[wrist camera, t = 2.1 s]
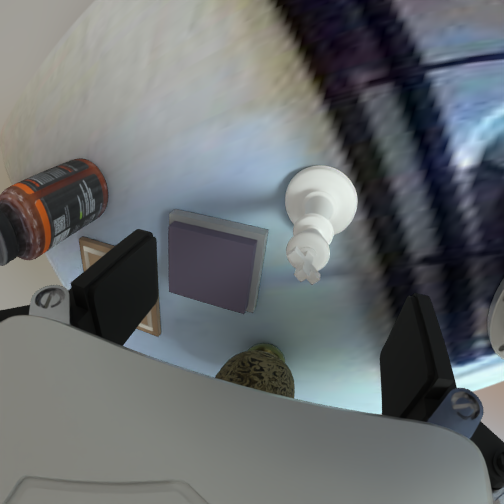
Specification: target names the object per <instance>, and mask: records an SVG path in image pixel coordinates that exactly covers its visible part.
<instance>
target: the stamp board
mask: <svg viewBox="0 0 504 504" xmlns="http://www.w3.org/2000/svg"><path fill="white" fill-rule="evenodd" d="M79 244H80V251H81V257H82V264H83V270H84V271H85V270H87V269H88V268H89V267H90V266H91V265H93V264H94V263H95V262H96V261H98V260H99V259H100V258H101V257H102V256H104V255H105V254H106V253H107V252H109V251H110V250H111V249H112V248H114V247H115V246H112V245H109V244H106V243H102V242H99V241H96V240H92V239H89V238H86V237H81V238H80V239H79ZM157 274H158V271H157ZM136 329H139V330H142V331H144V332H147V333H149V334H152V335H155V336H157V337H159V335H160V334H161V325H160V310H159V293H158V300H157V302H156V304H155V305H154V307H153V308H152V309H151V310H150V312H149V313H148V314H147V315H146V317H145V318H144V319H143V320H142V322H141V323H140V324H139V325H138V327H137V328H136Z"/></svg>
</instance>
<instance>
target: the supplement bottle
mask: <svg viewBox="0 0 504 504" xmlns="http://www.w3.org/2000/svg"><path fill="white" fill-rule="evenodd" d="M107 202H108V190H107V184H106V182H105V179H104V176H103V175H102V173H101V172H100V170H99V169H98V168H97V166H96V165H95V164H93V163H92V162H90V161H88V160H85V159H75V160H72V161H69V162H66V163H64V164H61V165H59V166H56V167H54V168H51V169H49V170H46V171H44V172H42V173H39V174H37V175H35V176H32V177H30V178H28V179H25V180H23V181H21V182H18V183H17V184H14V185H12V186H10V187H9V188H7V189H6V190H4V191H3V192H2V194H1V195H0V265H1V266H3V265H5V264H7V263H9V262H10V261H11V260H14V259H15V258H16V257H19V258H21V259H24V260H33V259H36V258H37V257H39V256H40V255H42V254H43V253H45V252H46V251H48V250H49V249H51V248H52V247H54V246H55V245H57V244H58V243H60V242H61V241H63V240H64V239H66V238H67V237H69V236H70V235H72V234H73V233H75V232H77V231H78V230H80V229H81V228H83V227H84V226H86V225H88V224H89V223H91V222H92V221H94V220H95V219H97V218H98V217H100V216H101V215H102V213H103V212H104V211H105V209H106V206H107Z"/></svg>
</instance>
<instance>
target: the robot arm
mask: <svg viewBox="0 0 504 504" xmlns="http://www.w3.org/2000/svg"><path fill="white" fill-rule="evenodd" d="M71 286H72V288H71V289H70V290H69V291H68V290H67V289H66V288H65V287H63V286H59V285H50V286H45V287H43V288H41V289H40V290H38V291H36V293H34V295H33V296H32V299H31V303H30V305H27V306H22V307H17V308H11V309H6V310H0V504H504V442H503V441H501V439H499V438H498V437H497V436H496V435H495V434H494V433H493V432H492V431H491V430H489V429H488V428H487V427H486V426H485V425H484V424H483V423H482V422H481V419H482V417H483V406H482V402H481V401H480V399H479V398H478V397H477V396H476V395H475V394H474V393H473V392H472V391H470V390H468V389H465V388H457V387H456V383H455V379H454V375H453V371H452V367H451V364H450V360H449V356H448V353H447V349H446V346H445V342H444V339H443V336H442V333H441V330H440V327H439V323H438V320H437V317H436V314H435V311H434V308H433V305H432V302H431V299H430V297H429V296H426V295H421V294H417V293H414V294H413V295H412V296H408V297H407V299H406V301H405V303H404V305H403V307H402V310H401V312H400V314H399V316H398V318H397V320H396V322H395V325H394V327H393V329H392V331H391V333H390V335H389V337H388V339H387V341H386V343H385V345H384V347H383V349H382V351H381V354H380V371H381V391H382V415H379V414H372V413H366V412H360V411H355V410H349V409H343V408H338V407H332V406H327V405H322V404H317V403H312V402H307V401H303V400H298V399H294V398H289V397H285V396H281V395H277V394H273V393H268V392H264V391H261V390H257V389H253V388H249V387H245V386H242V385H238V384H234V383H231V382H227V381H224V380H221V379H217V378H214V377H211V376H207V375H204V374H201V373H198V372H194V371H191V370H188V369H185V368H182V367H179V366H176V365H173V364H170V363H167V362H164V361H162V360H159V359H156V358H153V357H150V356H148V355H145V354H142V353H140V352H137V351H134V350H132V349H129V348H126V347H124V346H123V345H124V343H125V342H126V341H127V340H128V338H129V337H130V336H131V334H132V333H133V332H134V331H135V329H136V328H137V327H138V325H139V324H140V323H141V322H142V320H143V319H144V318H145V317H146V315H147V314H148V313H149V312H150V310H151V309H152V308H153V307H154V305H155V304H156V302H157V300H158V274H157V242H156V238H155V237H153V234H152V233H151V232H148V231H144V230H140V229H137V230H135V231H134V232H133V233H131V234H130V235H129V236H127V237H126V238H125V239H124V240H122V241H121V242H120V243H119V244H117V245H116V246H115V247H114V248H112V249H111V250H110V251H109V252H107V253H106V254H105V255H104V256H102V257H101V258H100V259H99V260H98V261H96V262H95V263H94V264H93V265H91V266H90V267H89V268H88V269H87V270H85V271H84V272H83V273H82V274H81V275H80V276H78V277H77V278H76V279H75V280H74V281H73V282H71ZM487 330H488V336H489V339H490V342H491V345H492V347H493V349H494V351H495V353H496V354H497V355H498V356H500V357H501V358H502V359H504V278H503V280H502V282H501V283H500V285H499V287H498V289H497V291H496V293H495V295H494V298H493V300H492V303H491V305H490V309H489V314H488V321H487Z"/></svg>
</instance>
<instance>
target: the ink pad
mask: <svg viewBox="0 0 504 504" xmlns="http://www.w3.org/2000/svg"><path fill="white" fill-rule="evenodd" d="M267 236H268V230H267V229H263V228H259V227H254V226H250V225H245V224H241V223H237V222H232V221H228V220H223V219H219V218H214V217H210V216H205V215H201V214H196V213H192V212H187V211H182V210H178V209H175V210H173V211H172V212H170V213H169V232H168V254H169V292H171V293H175V294H178V295H181V296H184V297H188V298H191V299H194V300H197V301H201V302H204V303H208V304H211V305H214V306H218V307H221V308H225V309H228V310H232V311H235V312H239V313H242V314H244V313H245V311H247V312H251V313H253V312H254V309H255V307H256V303H257V297H258V291H259V285H260V279H261V273H262V267H263V261H264V255H265V249H266V243H267Z"/></svg>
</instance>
